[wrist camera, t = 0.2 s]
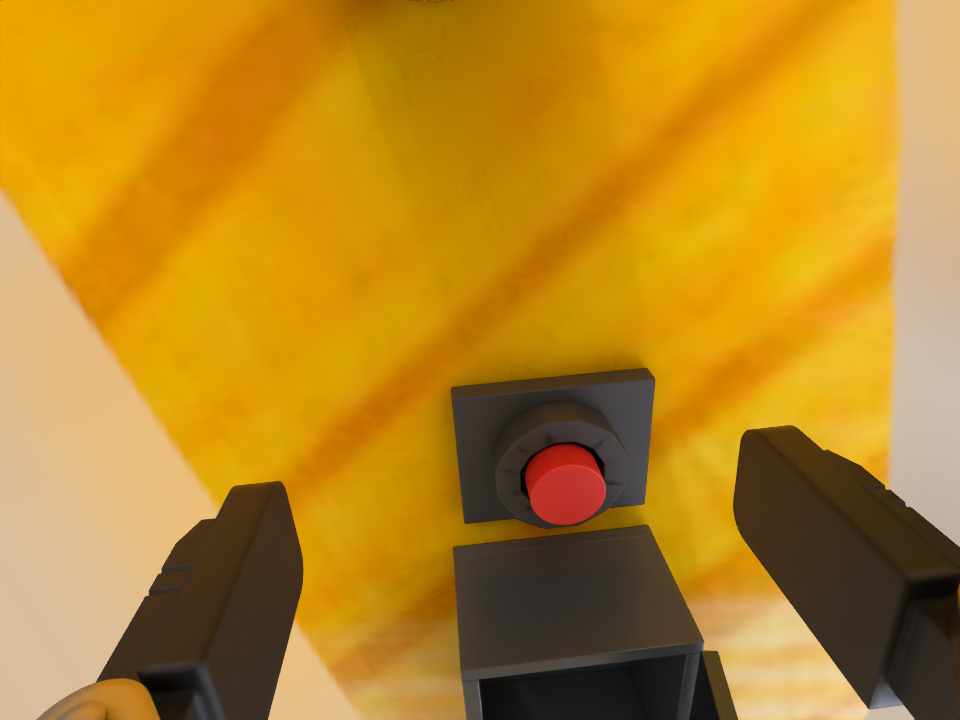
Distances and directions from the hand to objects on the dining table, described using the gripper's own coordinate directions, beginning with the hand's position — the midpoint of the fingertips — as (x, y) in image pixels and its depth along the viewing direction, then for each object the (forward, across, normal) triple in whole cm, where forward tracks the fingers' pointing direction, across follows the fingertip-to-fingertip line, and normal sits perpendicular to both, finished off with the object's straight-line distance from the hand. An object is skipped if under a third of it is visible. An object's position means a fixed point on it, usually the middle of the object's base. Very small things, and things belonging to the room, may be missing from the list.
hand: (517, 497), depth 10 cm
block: (+18, -4, +10) cm, 21 cm away
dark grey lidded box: (+19, -4, +23) cm, 30 cm away
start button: (+15, -4, +11) cm, 19 cm away
